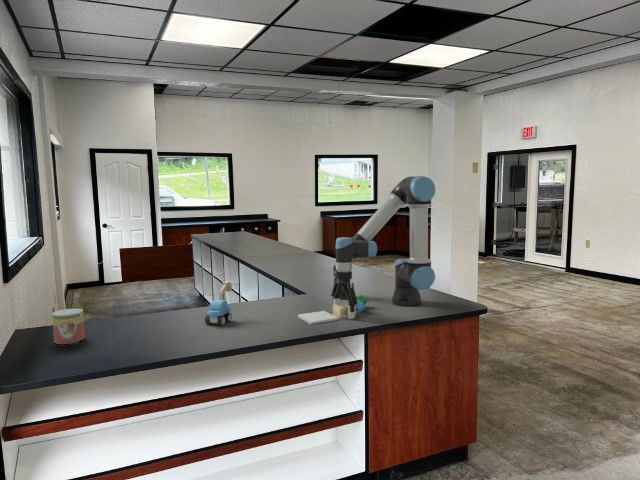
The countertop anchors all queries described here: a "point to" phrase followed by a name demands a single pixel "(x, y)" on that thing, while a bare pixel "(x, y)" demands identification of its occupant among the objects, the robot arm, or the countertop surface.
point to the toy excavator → (220, 308)
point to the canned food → (68, 325)
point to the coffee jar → (342, 295)
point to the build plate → (317, 317)
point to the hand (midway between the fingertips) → (343, 315)
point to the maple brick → (342, 310)
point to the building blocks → (360, 303)
